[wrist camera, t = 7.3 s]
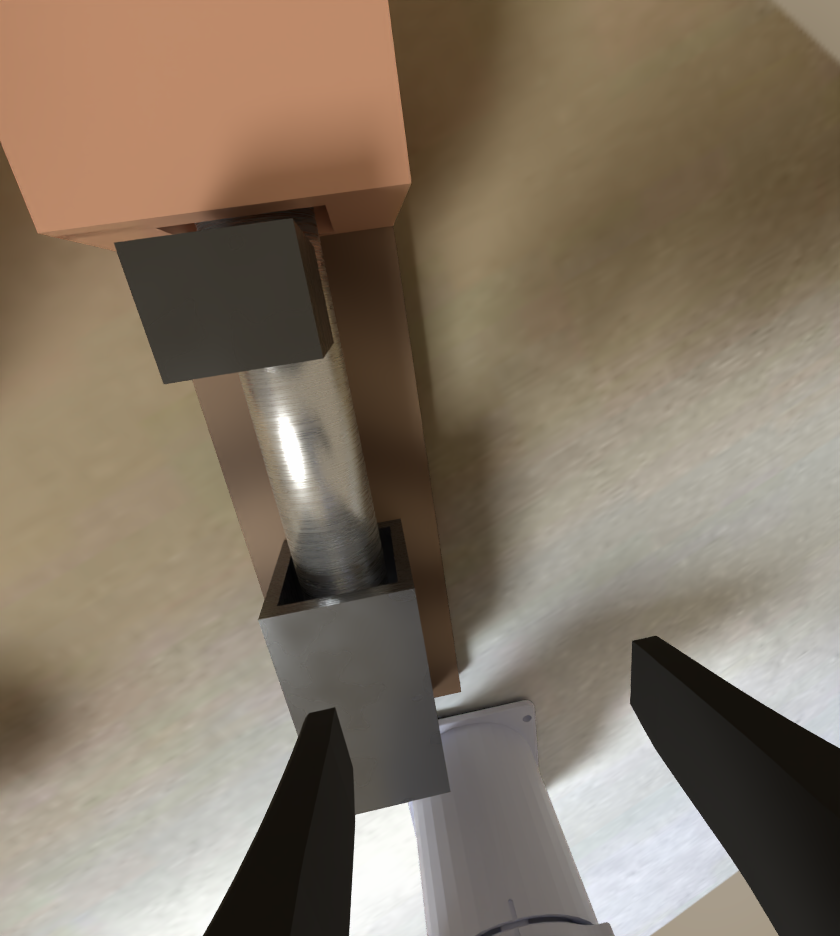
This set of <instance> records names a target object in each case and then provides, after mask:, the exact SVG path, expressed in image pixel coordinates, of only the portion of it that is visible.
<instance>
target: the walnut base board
mask: <svg viewBox="0 0 840 936" xmlns="http://www.w3.org/2000/svg"><path fill="white" fill-rule="evenodd" d="M319 238H320V243H321V248H322V253H323V258H324V263H325V268H326V273H327V278H328V283H329V288H330V292H331V297H332V302H333V307H334V312H335V317H336V322H337V327H338V332H339V337H340V342H341V347H342V352H343V357H344V362H345V367H346V372H347V377H348V382H349V387H350V392H351V397H352V402H353V407H354V412H355V417H356V422H357V426H358V431H359V436H360V441H361V446H362V451H363V456H364V461H365V466H366V471H367V476H368V481H369V486H370V491H371V496H372V501H373V506H374V511H375V516H376V521H377V523H380V522H385V521H390V520H395V519H401V523H402V528H403V533H404V538H405V543H406V548H407V553H408V558H409V563H410V568H411V573H412V578H413V583H414V588H415V593H416V599H417V604H418V610H419V616H420V621H421V627H422V633H423V638H424V644H425V650H426V655H427V661H428V667H429V672H430V678H431V684H432V689H433V695H434V698H436V697H440V696H445V695H449V694H454V693H458V692H461V687H460V681H459V674H458V667H457V660H456V653H455V646H454V639H453V633H452V626H451V619H450V612H449V605H448V598H447V591H446V584H445V578H444V571H443V564H442V557H441V550H440V543H439V536H438V530H437V523H436V516H435V509H434V502H433V495H432V488H431V482H430V475H429V468H428V461H427V454H426V447H425V440H424V433H423V427H422V420H421V413H420V406H419V399H418V392H417V385H416V379H415V372H414V365H413V358H412V351H411V344H410V337H409V330H408V324H407V317H406V310H405V303H404V296H403V289H402V282H401V276H400V269H399V262H398V255H397V248H396V241H395V234H394V228H393V226H389V227H382V228H375V229H367V230H360V231H353V232H346V233H339V234H332V235H325V236H319ZM192 381H193V384H194V387H195V390H196V393H197V396H198V399H199V402H200V405H201V408H202V411H203V414H204V417H205V420H206V423H207V426H208V429H209V432H210V435H211V438H212V441H213V444H214V447H215V450H216V454H217V457H218V460H219V463H220V466H221V469H222V472H223V475H224V478H225V481H226V484H227V487H228V490H229V493H230V496H231V499H232V502H233V505H234V508H235V511H236V514H237V517H238V520H239V523H240V526H241V529H242V532H243V535H244V538H245V541H246V544H247V547H248V550H249V553H250V556H251V559H252V563H253V566H254V569H255V572H256V575H257V578H258V581H259V584H260V587H261V590H262V593H263V596H264V599H265V597H266V594H267V591H268V588H269V585H270V582H271V578H272V575H273V572H274V569H275V566H276V563H277V560H278V557H279V554H280V550H281V547H282V544H283V541H285V540H287V539H286V535H285V532H284V528H283V525H282V521H281V518H280V515H279V511H278V508H277V504H276V501H275V497H274V494H273V491H272V487H271V484H270V480H269V477H268V473H267V470H266V466H265V463H264V460H263V456H262V453H261V449H260V446H259V442H258V439H257V435H256V432H255V429H254V425H253V422H252V418H251V415H250V411H249V408H248V404H247V401H246V398H245V394H244V391H243V387H242V384H241V380H240V377H239V373H238V372H237V373H231V374H224V375H218V376H212V377H206V378H200V379H193V380H192Z"/></svg>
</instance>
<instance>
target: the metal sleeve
mask: <svg viewBox="0 0 840 936" xmlns="http://www.w3.org/2000/svg"><path fill="white" fill-rule="evenodd" d="M377 526H378V531H379V536H380V541H381V546H382V551H383V556H384V560H385V565H386V570H387V575H388V580H389V584H387V585H382V586H377V587H372V588H367V589H362V590H357V591H352V592H347V593H342V594H337V595H332V596H327V597H322V598H317V599H312V600H307V601H304V597H303V594H302V590H301V587H300V583H299V580H298V577H297V573H296V570H295V566H294V563H293V559H292V556H291V552H290V549H289V546H288V542H287V540H285V541H283V544H282V547H281V550H280V554H279V557H278V560H277V563H276V566H275V569H274V572H273V575H272V578H271V582H270V585H269V588H268V591H267V594H266V597H265V600H264V603H263V607H262V610H261V613H260V616H259V619H258V621H259V624H260V627H261V629H262V632H263V635H264V638H265V641H266V644H267V647H268V650H269V653H270V656H271V659H272V661H273V664H274V667H275V670H276V673H277V676H278V679H279V682H280V685H281V688H282V691H283V693H284V696H285V699H286V702H287V705H288V708H289V711H290V714H291V717H292V720H293V723H294V725H295V728H296V731H297V734H298V736H299V733H300V731H301V728H302V725H303V722H304V720H305V717H306V716H307V715H308V714H309V713H311V712H316V711H320V710H325V709H329V708H334V707H335V708H336V711H337V715H338V718H339V722H340V725H341V728H342V732H343V735H344V739H345V742H346V745H347V749H348V752H349V755H350V759H351V762H352V766H353V774H354V799H355V815H356V814H360V813H364V812H369V811H373V810H377V809H381V808H385V807H390V806H394V805H398V804H402V803H406V802H411V801H415V800H419V799H423V798H427V797H432V796H436V795H440V794H444V793H448V792H451V791H450V785H449V780H448V774H447V768H446V763H445V757H444V751H443V746H442V740H441V734H440V729H439V723H438V717H437V712H436V706H435V701H434V695H433V689H432V684H431V678H430V672H429V667H428V661H427V655H426V650H425V644H424V638H423V633H422V627H421V621H420V616H419V610H418V604H417V599H416V593H415V588H414V583H413V578H412V573H411V568H410V563H409V558H408V553H407V548H406V543H405V538H404V533H403V528H402V523H401V519H395V520H390V521H385V522H380V523H377Z"/></svg>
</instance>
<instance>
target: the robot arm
mask: <svg viewBox="0 0 840 936" xmlns="http://www.w3.org/2000/svg"><path fill="white" fill-rule="evenodd" d="M630 704H631V706H632V708H633V710H634V711H635V713H636V715H637V717H638V719H639V721H640V723H641V724H642V726H643V728H644V730H645V732H646V733H647V735H648V737H649V739H650V740H651V742H652V744H653V746H654V748H655V749H656V751H657V752H658V754H659V755H660V757H661V758H662V760H663V761H664V762H665V764H666V765H667V767H668V768H669V770H670V771H671V773H672V774H673V775H674V777H675V778H676V780H677V781H678V783H679V784H680V786H681V787H682V788H683V790H684V791H685V793H686V794H687V796H688V797H689V798H690V800H691V801H692V803H693V804H694V806H695V807H696V809H697V810H698V811H699V813H700V814H701V816H702V817H703V819H704V820H705V821H706V823H707V824H708V826H709V827H710V829H711V830H712V831H713V833H714V834H715V836H716V837H717V839H718V840H719V841H720V843H721V844H722V846H723V847H724V849H725V850H726V851H727V853H728V854H729V856H730V857H731V859H732V860H733V862H734V863H735V865H736V866H737V868H738V869H739V871H740V872H741V874H742V875H743V877H744V878H745V880H746V882H747V883H748V885H749V886H750V888H751V890H752V891H753V893H754V895H755V896H756V898H757V900H758V901H759V903H760V905H761V906H762V908H763V910H764V911H765V913H766V915H767V916H768V918H769V920H770V921H771V923H772V925H773V926H774V928H775V930H776V932H777V933H778V935H779V936H840V748H838V747H836V746H835V745H833V744H831V743H829V742H827V741H825V740H824V739H822V738H820V737H818V736H817V735H815V734H813V733H811V732H810V731H808V730H806V729H804V728H803V727H801V726H799V725H797V724H796V723H794V722H792V721H790V720H789V719H787V718H785V717H784V716H782V715H780V714H779V713H777V712H775V711H774V710H772V709H770V708H769V707H767V706H765V705H764V704H762V703H760V702H759V701H757V700H755V699H754V698H752V697H751V696H749V695H747V694H746V693H744V692H743V691H741V690H739V689H738V688H736V687H735V686H733V685H732V684H730V683H728V682H727V681H725V680H724V679H722V678H721V677H719V676H718V675H716V674H714V673H713V672H711V671H710V670H708V669H707V668H705V667H704V666H702V665H701V664H699V663H698V662H696V661H694V660H693V659H691V658H690V657H688V656H687V655H685V654H684V653H682V652H681V651H679V650H678V649H676V648H675V647H673V646H672V645H670V644H668V643H667V642H665V641H664V640H662V639H661V638H659V637H657V636H652V637H648V638H643V639H639V640H634V641H632V665H631V697H630ZM438 723H439V729H440V734H441V740H442V746H443V751H444V757H445V763H446V768H447V774H448V780H449V785H450V791H451V792H448V793H444V794H440V795H436V796H432V797H427V798H423V799H419V800H415V801H411V802H408V805H409V809H410V813H411V818H412V822H413V826H414V830H415V835H416V838H417V847H418V856H419V865H420V875H421V884H422V893H423V902H424V911H425V920H426V929H427V936H615V935H614V933H613V931H612V928H611V926H610V924H609V923H607V922H606V923H601V924H599V923H598V921H597V918H596V916H595V913H594V911H593V908H592V905H591V903H590V900H589V898H588V895H587V893H586V890H585V887H584V885H583V882H582V880H581V877H580V875H579V872H578V869H577V867H576V864H575V862H574V859H573V857H572V854H571V852H570V849H569V846H568V844H567V841H566V839H565V836H564V834H563V831H562V828H561V826H560V823H559V821H558V818H557V816H556V813H555V810H554V808H553V805H552V803H551V800H550V798H549V795H548V792H547V790H546V787H545V785H544V782H543V780H542V777H541V774H540V772H539V764H538V748H537V733H536V718H535V708H534V706H533V703H532V702H531V701H529V700H523V701H518V702H514V703H509V704H505V705H501V706H496V707H492V708H487V709H483V710H478V711H474V712H470V713H465V714H461V715H456V716H452V717H447V718H443V719H438ZM354 835H355V799H354V774H353V766H352V762H351V759H350V755H349V752H348V749H347V745H346V742H345V739H344V735H343V732H342V728H341V725H340V722H339V718H338V715H337V711H336V708H335V707H334V708H329V709H325V710H320V711H316V712H311V713H309V714H308V715H307V716H306V717H305V720H304V722H303V725H302V728H301V731H300V733H299V736H298V739H297V741H296V744H295V746H294V749H293V752H292V754H291V757H290V759H289V761H288V764H287V766H286V769H285V771H284V774H283V776H282V778H281V781H280V783H279V785H278V787H277V790H276V792H275V794H274V796H273V799H272V801H271V803H270V805H269V808H268V810H267V812H266V814H265V817H264V819H263V821H262V823H261V825H260V827H259V829H258V832H257V834H256V836H255V838H254V840H253V842H252V844H251V846H250V848H249V850H248V852H247V854H246V856H245V858H244V860H243V862H242V864H241V866H240V868H239V870H238V872H237V874H236V876H235V878H234V880H233V882H232V884H231V885H230V887H229V889H228V891H227V893H226V895H225V897H224V899H223V901H222V902H221V904H220V906H219V908H218V910H217V912H216V913H215V915H214V917H213V919H212V921H211V922H210V924H209V926H208V928H207V930H206V931H205V933H204V935H203V936H349V926H350V908H351V890H352V873H353V854H354Z"/></svg>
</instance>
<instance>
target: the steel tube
mask: <svg viewBox="0 0 840 936" xmlns="http://www.w3.org/2000/svg"><path fill="white" fill-rule="evenodd" d="M195 225H196V229H197V231H195V232H187V233H180V234H173V235H165V236H158V237H151V238H143V239H136V240H129V241H121V242H114V245H115V248H116V251H117V254H118V256H119V259H120V262H121V265H122V268H123V270H124V273H125V276H126V279H127V282H128V285H129V287H130V290H131V293H132V296H133V299H134V301H135V304H136V307H137V310H138V313H139V316H140V318H141V321H142V324H143V327H144V330H145V332H146V335H147V338H148V341H149V344H150V347H151V349H152V352H153V355H154V358H155V361H156V363H157V366H158V369H159V372H160V375H161V378H162V380H163V383H164V384H168V383H175V382H181V381H187V380H193V379H200V378H206V377H212V376H218V375H224V374H231V373H237V372H238V373H239V377H240V380H241V384H242V387H243V391H244V394H245V398H246V401H247V404H248V408H249V411H250V415H251V418H252V422H253V425H254V429H255V432H256V435H257V439H258V442H259V446H260V449H261V453H262V456H263V460H264V463H265V466H266V470H267V473H268V477H269V480H270V484H271V487H272V491H273V494H274V497H275V501H276V504H277V508H278V511H279V515H280V518H281V521H282V525H283V528H284V532H285V535H286V539H287V542H288V546H289V549H290V552H291V556H292V559H293V563H294V566H295V570H296V573H297V577H298V580H299V583H300V587H301V590H302V594H303V597H304V601H307V600H312V599H317V598H322V597H327V596H332V595H337V594H342V593H347V592H352V591H357V590H362V589H367V588H372V587H377V586H382V585H387V584H389V580H388V575H387V570H386V565H385V560H384V556H383V551H382V546H381V541H380V536H379V531H378V526H377V521H376V516H375V511H374V506H373V501H372V496H371V491H370V486H369V481H368V476H367V471H366V466H365V461H364V456H363V451H362V446H361V441H360V436H359V431H358V426H357V422H356V417H355V412H354V407H353V402H352V397H351V392H350V387H349V382H348V377H347V372H346V367H345V362H344V357H343V352H342V347H341V342H340V337H339V332H338V327H337V322H336V317H335V312H334V307H333V302H332V297H331V292H330V288H329V283H328V278H327V273H326V268H325V263H324V258H323V253H322V248H321V243H320V238H319V233H318V228H317V223H316V218H315V213H314V208H313V207H307V208H300V209H293V210H285V211H278V212H271V213H263V214H256V215H248V216H241V217H234V218H226V219H219V220H211V221H204V222H197V223H195Z"/></svg>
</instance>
